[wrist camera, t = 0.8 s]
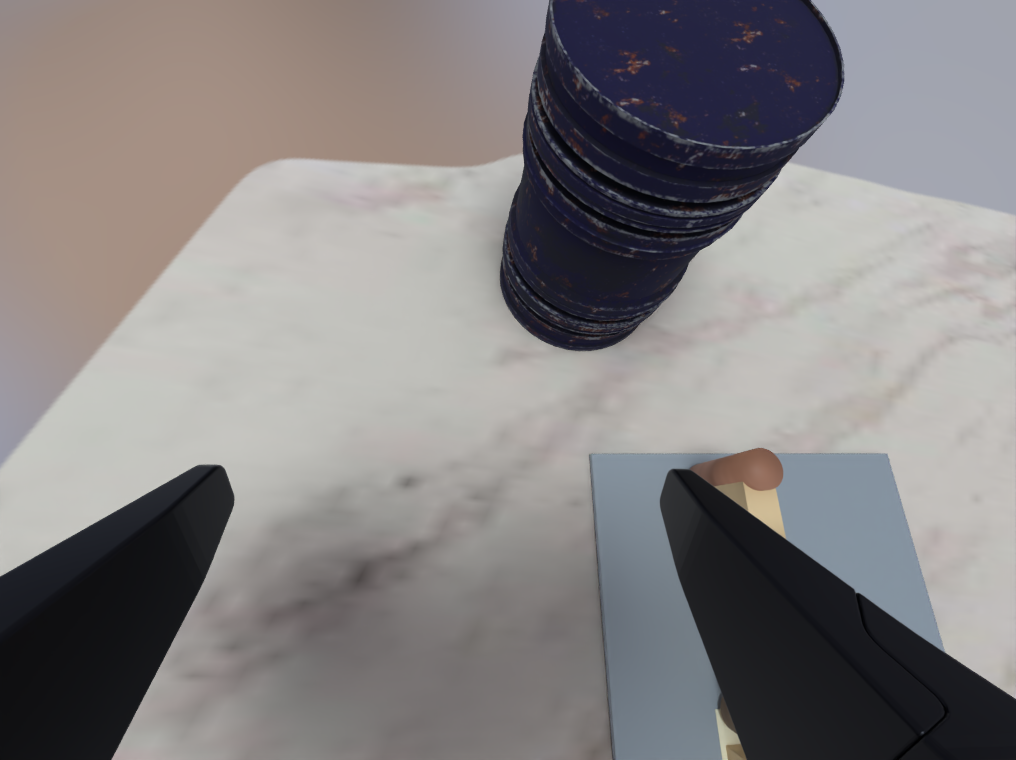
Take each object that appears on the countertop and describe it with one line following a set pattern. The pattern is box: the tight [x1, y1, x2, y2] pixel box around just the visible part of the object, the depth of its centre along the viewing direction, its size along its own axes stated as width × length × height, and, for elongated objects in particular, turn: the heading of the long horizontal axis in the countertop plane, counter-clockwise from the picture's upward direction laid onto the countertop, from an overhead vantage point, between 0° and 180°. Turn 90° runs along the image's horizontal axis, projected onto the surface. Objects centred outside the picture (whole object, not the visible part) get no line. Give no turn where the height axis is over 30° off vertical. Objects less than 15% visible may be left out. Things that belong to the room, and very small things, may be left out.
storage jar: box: [500, 0, 844, 351], centre depth 21 cm, size 10×10×15 cm
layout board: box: [589, 454, 945, 760], centre depth 22 cm, size 20×18×1 cm
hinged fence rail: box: [690, 448, 786, 734], centre depth 20 cm, size 12×2×5 cm, turn 1°
